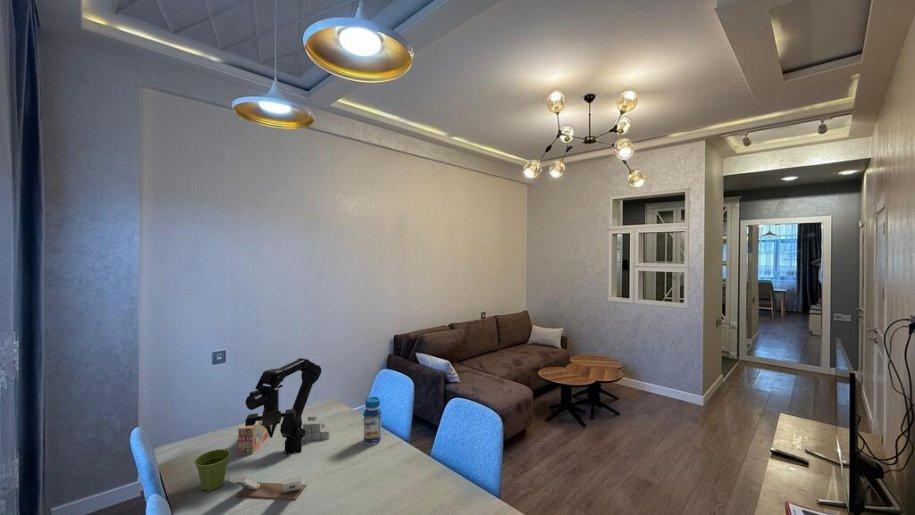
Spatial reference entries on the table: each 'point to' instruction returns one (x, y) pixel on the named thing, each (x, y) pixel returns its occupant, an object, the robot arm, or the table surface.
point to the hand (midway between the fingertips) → (271, 437)
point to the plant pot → (212, 468)
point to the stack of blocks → (251, 437)
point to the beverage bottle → (372, 421)
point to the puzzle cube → (315, 428)
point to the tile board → (270, 492)
